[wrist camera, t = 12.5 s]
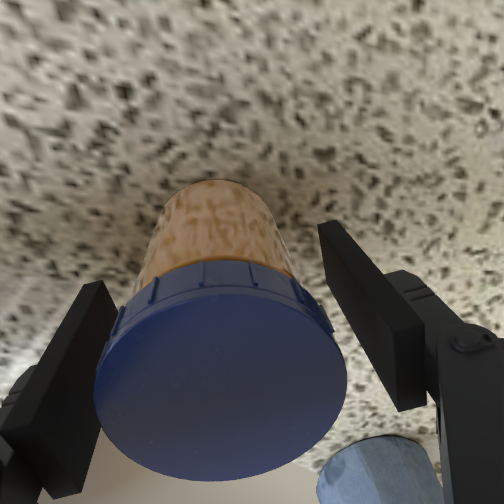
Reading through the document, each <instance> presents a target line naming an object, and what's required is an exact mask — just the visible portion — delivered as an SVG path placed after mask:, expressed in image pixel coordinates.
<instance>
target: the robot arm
mask: <svg viewBox="0 0 504 504" xmlns="http://www.w3.org/2000/svg"><path fill="white" fill-rule="evenodd" d="M317 227H318V233H319V239H320V245H321V251H322V257H323V263H324V269H325V275H326V281H327V284H328V286H329V288H330V290H331V292H332V293H333V295H334V297H335V299H336V301H337V302H338V304H339V306H340V308H341V310H342V311H343V313H344V315H345V317H346V319H347V320H348V322H349V324H350V326H351V328H352V329H353V331H354V333H355V335H356V337H357V338H358V340H359V342H360V344H361V346H362V347H363V349H364V351H365V353H366V355H367V356H368V358H369V360H370V362H371V364H372V365H373V367H374V369H375V371H376V373H377V375H378V376H379V378H380V380H381V382H382V384H383V385H384V387H385V389H386V391H387V393H388V394H389V396H390V398H391V400H392V402H393V403H394V405H395V407H396V409H397V411H398V412H402V411H406V410H410V409H414V408H418V407H421V406H425V405H427V391H428V393H429V394H430V396H431V397H432V399H433V400H434V402H435V403H436V434H438V439H439V450H440V460H441V471H442V482H443V493H444V504H504V338H498V337H497V336H496V335H495V334H494V333H492V332H491V331H490V330H488V329H486V328H484V327H481V326H478V325H476V324H469V323H464V322H463V321H462V320H461V319H460V318H459V317H458V316H457V315H456V314H455V313H454V312H453V311H452V310H451V309H450V308H449V307H448V306H447V305H446V304H445V303H444V302H443V301H442V300H441V299H440V298H439V297H438V296H437V295H435V293H434V292H433V291H432V290H431V289H430V288H429V287H428V288H427V285H426V284H425V283H424V282H423V281H422V280H421V279H420V278H419V277H418V276H416V275H414V274H411V273H409V272H407V271H405V270H399V271H396V272H392V273H388V274H384V275H383V274H382V272H381V271H380V270H379V269H378V268H377V267H376V265H375V264H374V263H373V262H372V261H371V260H370V258H369V257H368V256H367V255H366V254H365V253H364V251H363V250H362V249H361V248H360V247H359V246H358V244H357V243H356V242H355V241H354V240H353V239H352V237H351V236H350V235H349V234H348V233H347V232H346V230H345V229H344V228H343V227H342V226H341V225H340V223H339V222H338V221H337V220H332V221H328V222H325V223H321V224H317ZM117 315H118V310H117V308H116V306H115V304H114V302H113V300H112V298H111V296H110V294H109V292H108V290H107V288H106V286H105V284H104V282H103V280H100V281H96V282H92V283H88V284H84V285H83V287H82V288H81V290H80V292H79V293H78V295H77V297H76V299H75V300H74V302H73V304H72V305H71V307H70V309H69V311H68V312H67V314H66V316H65V318H64V319H63V321H62V323H61V324H60V326H59V328H58V330H57V331H56V333H55V335H54V337H53V338H52V340H51V342H50V343H49V345H48V347H47V349H46V350H45V352H44V354H43V355H42V357H41V359H40V361H39V362H38V364H37V365H33V366H30V367H29V368H28V369H27V370H26V371H25V372H24V373H23V374H22V375H21V376H20V377H19V378H18V379H17V381H16V382H15V384H14V385H13V387H12V389H11V390H10V392H9V393H8V394H9V396H7V397H6V398H5V400H4V402H3V403H2V407H1V408H0V504H38V503H37V500H38V497H39V495H40V492H41V490H42V487H43V488H44V489H45V490H46V491H47V492H48V494H49V495H50V496H51V497H52V498H53V500H54V499H58V498H62V497H66V496H69V495H73V494H78V493H81V492H82V489H83V485H84V482H85V479H86V475H87V472H88V469H89V465H90V462H91V458H92V455H93V452H94V449H95V445H96V442H97V439H98V435H99V432H100V428H101V425H100V423H99V421H98V418H97V415H96V411H95V407H94V396H93V391H94V383H95V377H96V373H95V371H96V368H97V365H98V363H99V360H100V357H101V355H102V352H103V349H104V347H105V344H106V342H108V341H109V338H110V334H111V331H112V329H113V326H114V323H115V321H116V318H117Z"/></svg>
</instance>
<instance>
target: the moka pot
mask: <svg viewBox="0 0 504 504" xmlns="http://www.w3.org/2000/svg"><path fill="white" fill-rule="evenodd" d="M316 493H317V496H318V498H319V501H320V504H444V493H443V489H442V487H441V484H440V482H439V480H438V478H437V475H436V473H435V471H434V468H433V466H432V464H431V462H430V459H429V457H428V455H427V453H426V451H425V449H424V448H422V447H421V446H419V445H418V444H417V443H415V442H412V441H410V440H407V439H405V438H402V437H395V436H386V437H375V438H370V439H366V440H363V441H360V442H357V443H354V444H352V445H350V446H349V447H347V448H345V449H343V450H341V451H340V452H339V453H338V454H336V455H335V456H334V457H333V458H332V459H331V460H330V461H329V462H328V463H327V464H326V465H325V466H324V468H323V470H322V472H321V474H320V477H319V479H318V485H317V487H316Z"/></svg>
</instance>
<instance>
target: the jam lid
mask: <svg viewBox="0 0 504 504" xmlns="http://www.w3.org/2000/svg"><path fill="white" fill-rule="evenodd" d="M333 332H335V331H334V329H333V327H332V325H331V322H330V320H329V318H328V316H327V314H326V312H325V310H324V308H323V306H322V305H320V306H319V305H318V304H317V302H316V301H315V299H314V298H313V297H312V296H311V295H310V294H309V292H308V291H307V290H305V289H304V288H303V287H302V286H301V285H300V284H298V283H297V280H296V278H294V277H292V278H289V277H288V276H286V275H284V274H282V273H280V272H278V271H276V270H274V269H271V268H268V267H265V266H262V265H258V264H254V261H249V263H248V262H243V261H229V260H223V261H208V262H204V260H201V261H199V263H196V264H192V265H188V266H185V267H181V268H178V269H176V270H173V271H171V272H169V273H166V274H164V275H162V276H161V277H159V278H158V277H157V276H156V277H154V278H153V280H152V282H150V283H149V284H148V285H146V286H145V287H144V288H142V289H141V290H140V291H139V292H138V293H137V294H136V295H135V296H134V297H133V298H132V299H131V300H130V301H129V302H128V303H127V304H126V306H125V307H124V306H121V308H120V310H119V312H118V315H117V318H116V321H115V323H114V326H113V329H112V331H111V334H110V338H109V341H108V342H106V344H105V347H104V349H103V352H102V355H101V357H100V360H99V363H98V365H97V368H96V371H95V373H96V377H95V383H94V391H93V396H94V407H95V411H96V415H97V418H98V421H99V423H100V425H101V427H102V429H103V431H104V432H105V434H106V435H107V437H108V438H109V440H110V441H111V442H112V443H113V444H114V445H115V446H116V447H117V448H118V449H119V450H120V451H121V452H122V453H124V454H125V455H126V456H127V457H128V458H130V459H132V460H133V461H135V462H136V463H138V464H140V465H142V466H144V467H146V468H148V469H150V470H152V471H155V472H158V473H161V474H163V475H167V476H171V477H175V478H179V479H187V480H192V481H228V480H237V479H242V478H247V477H252V476H255V475H259V474H263V473H265V472H268V471H271V470H273V469H276V468H279V467H281V466H283V465H285V464H287V463H289V462H291V461H293V460H294V459H296V458H298V457H299V456H301V455H302V454H304V453H305V452H306V451H308V450H309V449H311V448H312V447H313V446H314V445H315V444H316V443H317V442H319V441H320V440H321V439H322V438H323V436H324V435H325V434H326V433H327V432H328V431H329V430H330V428H331V427H332V425H333V424H334V422H335V421H336V419H337V417H338V415H339V413H340V411H341V409H342V406H343V403H344V400H345V397H346V390H347V370H346V365H345V361H344V358H343V355H342V353H341V350H340V348H339V346H338V344H337V342H336V340H335V338H334V335H333Z"/></svg>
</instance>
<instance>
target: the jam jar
mask: <svg viewBox="0 0 504 504" xmlns="http://www.w3.org/2000/svg"><path fill="white" fill-rule="evenodd" d="M201 260H204V262H208V261H223V260H229V261H243V262H248V263H249V261H254V264H258V265H262V266H265V267H268V268H271V269H274V270H276V271H278V272H280V273H282V274H284V275H286V276H288V277H289V278H292V277H294V278H296V280H297V283H298V284H300V285H301V286H302V287H303V288H304V286H303V283H302V281H301V279H300V277H299V274H298V272H297V270H296V268H295V265H294V263H293V261H292V258H291V256H290V254H289V252H288V249H287V247H286V245H285V243H284V240H283V238H282V236H281V234H280V231H279V229H278V227H277V224H276V222H275V220H274V218H273V215H272V213H271V211H270V209H269V208H268V206H267V204H266V203H265V202H264V201H263V200H262V198H260V197H259V196H258V195H257V194H256V193H255V192H253V191H252V190H250V189H249V188H247V187H245V186H243V185H241V184H238V183H235V182H231V181H226V180H206V181H200V182H197V183H194V184H191V185H189V186H187V187H185V188H183V189H182V190H180V191H178V192H177V193H176V194H175V195H174V196H172V197H171V198H170V199H169V201H168V202H167V203H166V204H165V206H164V207H163V209H162V210H161V212H160V215H159V217H158V220H157V222H156V225H155V228H154V231H153V234H152V237H151V240H150V243H149V246H148V249H147V252H146V255H145V258H144V261H143V264H142V267H141V270H140V273H139V276H138V279H137V281H136V284H135V287H134V290H133V293H132V296H131V299H132V298H133V297H134V296H135V295H136V294H137V293H138V292H139V291H140V290H141V289H142V288H144V287H145V286H146V285H148V284H149V283H150V282H152V280H153V278H154V277H156V276H157V277H158V278H159V277H161V276H162V275H164V274H166V273H169V272H171V271H173V270H176V269H178V268H181V267H185V266H188V265H192V264H196V263H199V261H201ZM304 289H305V288H304ZM131 299H130V300H131Z"/></svg>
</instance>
